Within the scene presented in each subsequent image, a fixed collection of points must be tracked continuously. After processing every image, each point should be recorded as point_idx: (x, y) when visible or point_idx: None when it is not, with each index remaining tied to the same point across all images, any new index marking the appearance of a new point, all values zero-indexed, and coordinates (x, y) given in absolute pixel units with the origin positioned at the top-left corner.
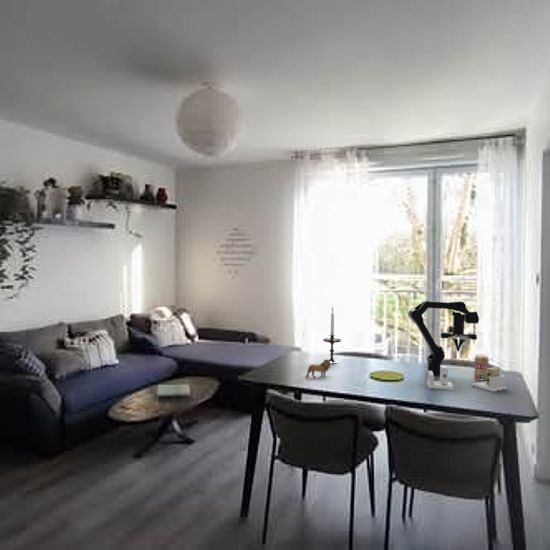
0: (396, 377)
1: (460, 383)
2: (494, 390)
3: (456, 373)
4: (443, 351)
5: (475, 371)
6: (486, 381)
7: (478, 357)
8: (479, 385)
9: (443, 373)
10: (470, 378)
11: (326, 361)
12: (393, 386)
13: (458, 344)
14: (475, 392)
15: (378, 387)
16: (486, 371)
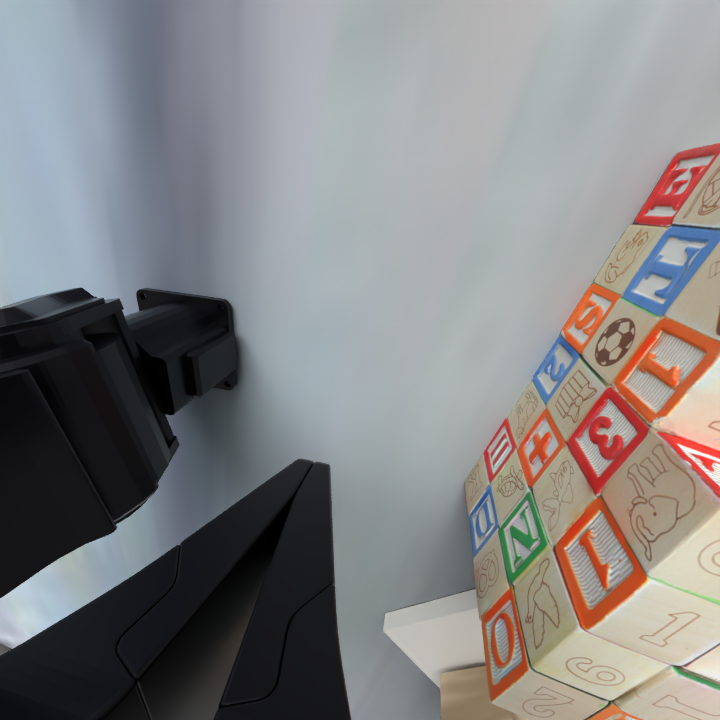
0: None
1: (335, 565)
2: None
3: (381, 284)
4: (82, 544)
5: (476, 538)
6: (442, 698)
7: (534, 717)
8: (408, 654)
9: None
10: (444, 457)
11: None
12: (65, 589)
13: (260, 595)
14: (364, 679)
15: (27, 596)
16: None
